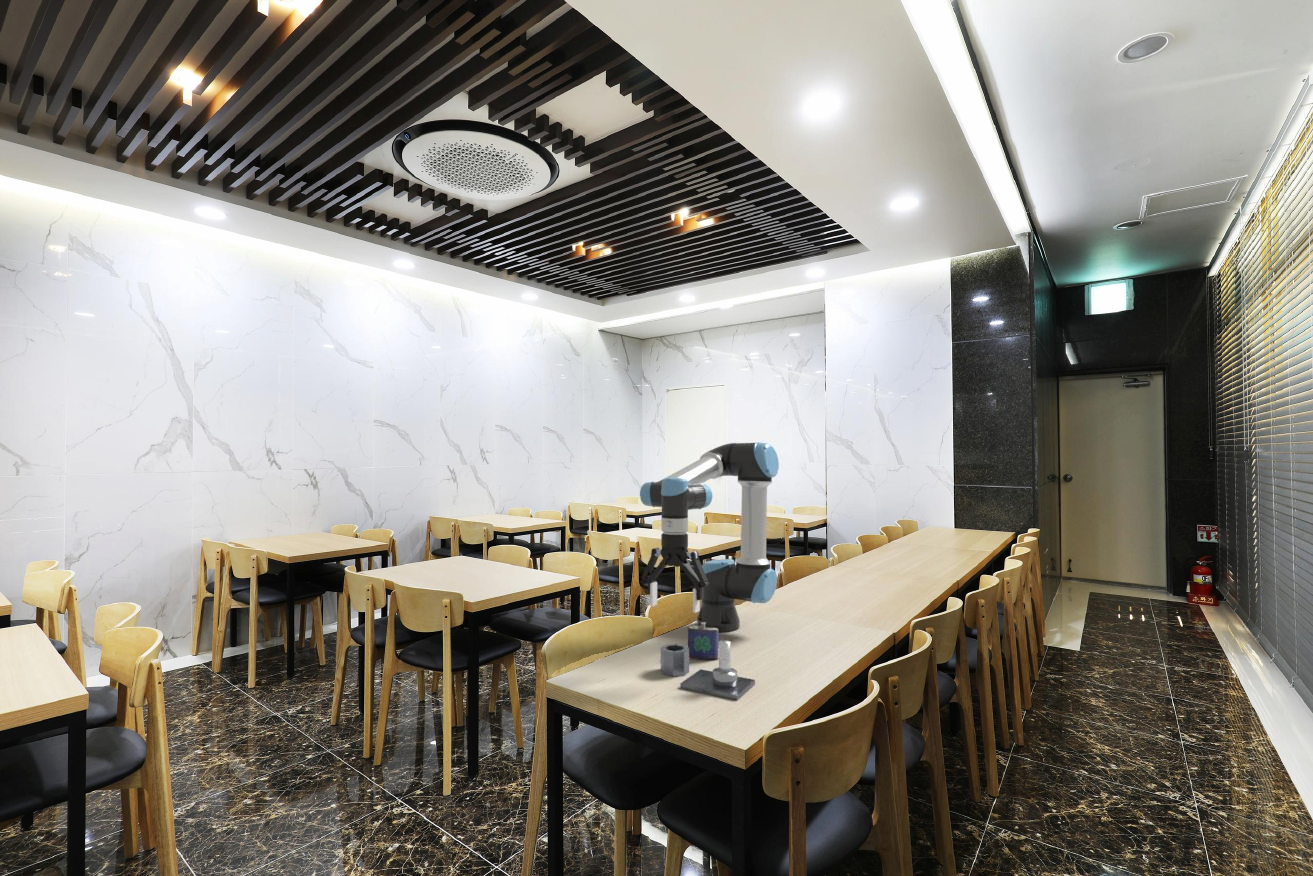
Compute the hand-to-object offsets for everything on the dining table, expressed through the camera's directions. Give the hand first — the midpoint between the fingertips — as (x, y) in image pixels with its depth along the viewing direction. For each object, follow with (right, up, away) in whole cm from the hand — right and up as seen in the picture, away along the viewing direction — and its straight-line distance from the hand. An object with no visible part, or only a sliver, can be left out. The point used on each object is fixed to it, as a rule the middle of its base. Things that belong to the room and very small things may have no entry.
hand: (674, 608), depth 173 cm
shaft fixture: (+11, -17, -11) cm, 23 cm away
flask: (+9, -18, +11) cm, 23 cm away
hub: (0, -18, 0) cm, 18 cm away
